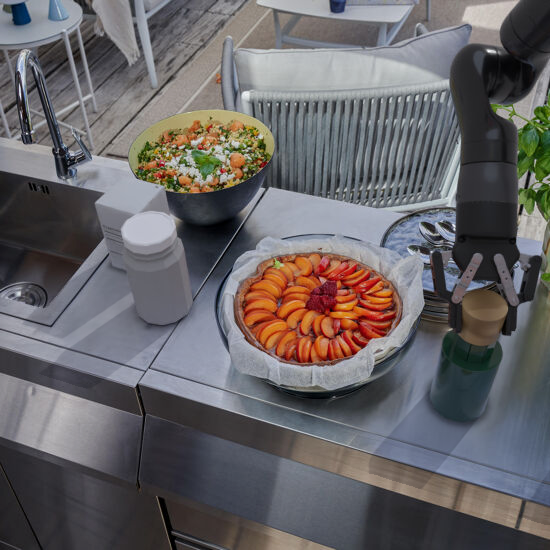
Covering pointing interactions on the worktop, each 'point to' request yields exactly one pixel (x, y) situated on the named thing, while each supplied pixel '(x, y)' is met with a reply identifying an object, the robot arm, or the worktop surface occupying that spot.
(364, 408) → the worktop surface
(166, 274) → the jar
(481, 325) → the stopper
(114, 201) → the rectangular carton
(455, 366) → the flask
